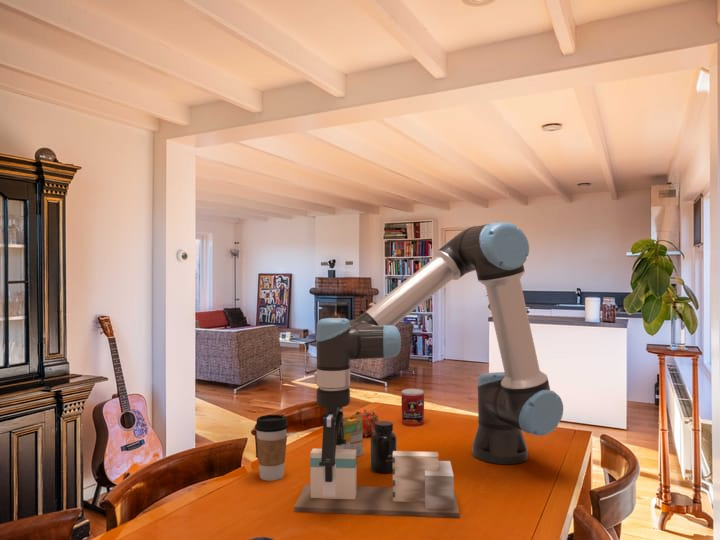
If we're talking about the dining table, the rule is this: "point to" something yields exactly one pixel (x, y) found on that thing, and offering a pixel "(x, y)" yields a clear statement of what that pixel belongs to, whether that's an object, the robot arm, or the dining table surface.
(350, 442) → the crayon box
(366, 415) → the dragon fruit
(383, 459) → the supplement bottle
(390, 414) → the dining table surface
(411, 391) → the canned food
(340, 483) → the blue-striped white box
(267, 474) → the coffee cup
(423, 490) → the stepped block stand
